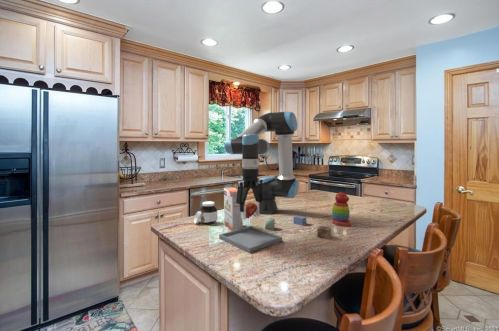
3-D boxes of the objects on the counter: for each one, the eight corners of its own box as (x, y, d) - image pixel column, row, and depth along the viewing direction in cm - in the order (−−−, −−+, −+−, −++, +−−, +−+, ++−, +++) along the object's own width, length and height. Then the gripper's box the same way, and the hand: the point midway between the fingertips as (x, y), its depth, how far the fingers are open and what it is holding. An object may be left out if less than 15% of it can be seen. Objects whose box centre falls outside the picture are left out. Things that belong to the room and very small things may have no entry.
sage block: (263, 228, 140) (263, 219, 140) (269, 226, 143) (269, 217, 143) (269, 230, 136) (269, 221, 136) (276, 228, 140) (276, 219, 139)
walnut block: (317, 237, 127) (317, 228, 126) (320, 234, 131) (320, 225, 130) (327, 239, 124) (327, 230, 124) (330, 236, 128) (330, 227, 128)
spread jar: (219, 223, 150) (219, 202, 149) (203, 227, 141) (203, 206, 140) (206, 218, 158) (206, 199, 157) (190, 223, 150) (190, 202, 149)
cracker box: (223, 224, 147) (223, 187, 145) (233, 223, 149) (233, 186, 147) (231, 232, 134) (231, 191, 132) (242, 230, 136) (242, 190, 134)
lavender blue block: (293, 223, 149) (293, 216, 149) (297, 222, 152) (297, 215, 152) (302, 225, 145) (302, 218, 145) (306, 224, 148) (306, 217, 148)
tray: (219, 238, 125) (219, 234, 125) (250, 229, 138) (250, 226, 138) (249, 253, 108) (249, 248, 108) (282, 241, 121) (282, 237, 121)
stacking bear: (352, 227, 143) (353, 194, 141) (332, 225, 145) (333, 193, 143) (348, 221, 153) (349, 191, 152) (330, 220, 155) (331, 190, 154)
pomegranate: (258, 220, 125) (243, 206, 128) (265, 210, 122) (250, 195, 125) (250, 226, 119) (234, 211, 122) (258, 215, 116) (242, 200, 119)
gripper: (237, 169, 111) (237, 223, 113) (271, 167, 124) (271, 215, 126) (227, 168, 116) (227, 219, 118) (260, 166, 130) (260, 212, 131)
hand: (250, 217), depth 122 cm, fingers closed on pomegranate, 7 cm apart
